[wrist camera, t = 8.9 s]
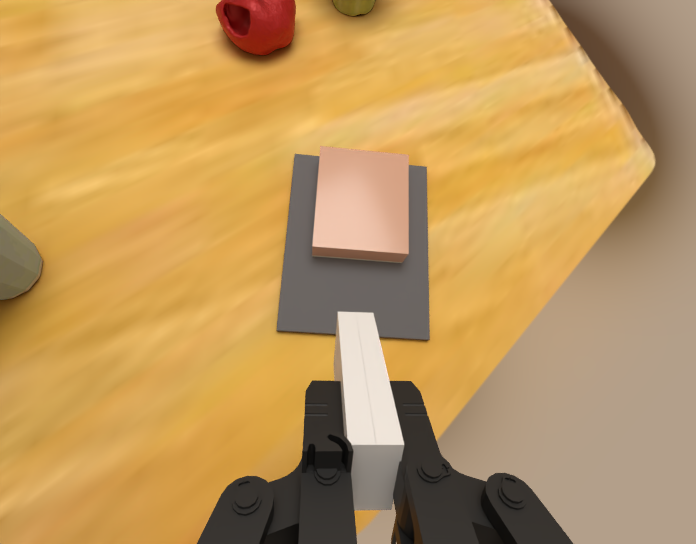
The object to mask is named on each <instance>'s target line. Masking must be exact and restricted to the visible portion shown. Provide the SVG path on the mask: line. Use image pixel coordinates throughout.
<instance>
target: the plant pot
mask: <svg viewBox="0 0 696 544" xmlns="http://www.w3.org/2000/svg"><path fill="white" fill-rule="evenodd" d="M333 3H334V5H335V7H336V8H337V9H338V10H339V11H340V12H342V13H344V14H346V15H350V16H356V15H358V14H366V13H368V12H369V11H370V10H371V9H372V8H373V6H374V3H375V0H333Z"/></svg>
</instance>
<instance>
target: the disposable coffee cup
mask: <svg viewBox="0 0 696 544" xmlns="http://www.w3.org/2000/svg"><path fill="white" fill-rule="evenodd" d="M42 263H43V261H42V259H41V257H40V255H39V253H38V251H37V249H36V246H35V245H34V244H33V243H32V242H31V241H30V240H29V239H28V238H27V237H26V236H24V235H23V234H22V233H21V232H20V231H19V230H18V229H17V228H15V227H14V226H13V225H12V224H11V223H10V222H9V221H8V220H7V219H5V218H4V217H3V216H2V215H1V214H0V300H5V299H11V298H14V297H16V296H18V295H20V294H22V293H24V292H26V291H28V290H29V289H30V288H31V287H32V286H33V284H34V283H35V282H36V281H37V280H38V278H39V277H40V274H41V269H42Z"/></svg>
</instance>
